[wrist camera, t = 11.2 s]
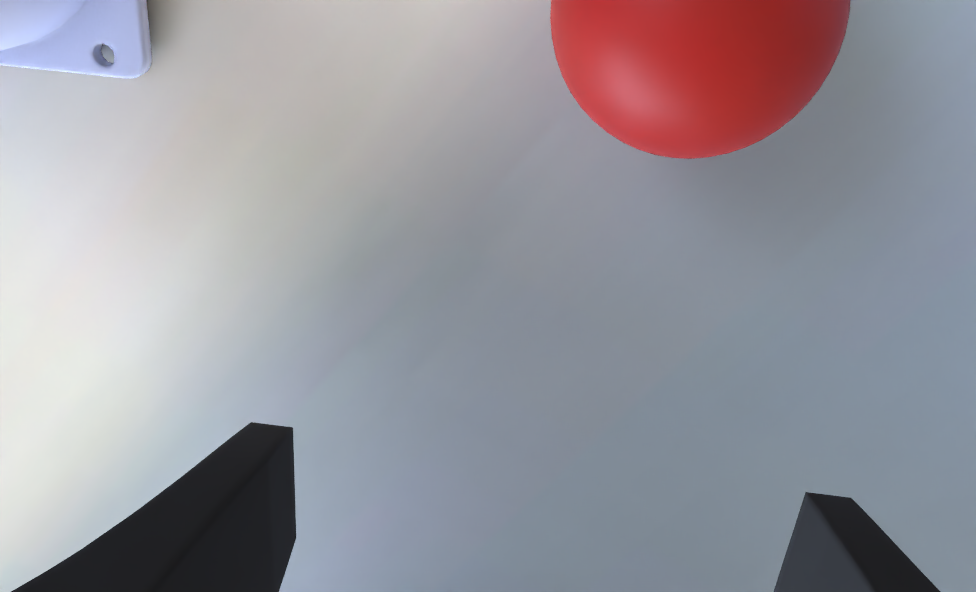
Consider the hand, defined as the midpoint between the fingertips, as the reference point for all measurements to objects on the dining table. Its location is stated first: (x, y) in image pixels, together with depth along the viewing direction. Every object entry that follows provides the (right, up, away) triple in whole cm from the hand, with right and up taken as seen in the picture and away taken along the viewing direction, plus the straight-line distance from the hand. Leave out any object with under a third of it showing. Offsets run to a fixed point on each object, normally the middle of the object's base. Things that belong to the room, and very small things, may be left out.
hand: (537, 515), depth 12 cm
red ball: (+3, +10, +6) cm, 12 cm away
